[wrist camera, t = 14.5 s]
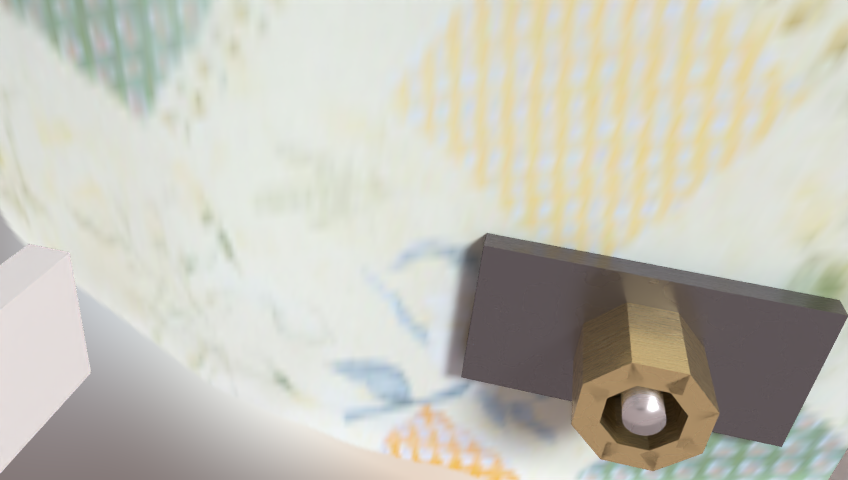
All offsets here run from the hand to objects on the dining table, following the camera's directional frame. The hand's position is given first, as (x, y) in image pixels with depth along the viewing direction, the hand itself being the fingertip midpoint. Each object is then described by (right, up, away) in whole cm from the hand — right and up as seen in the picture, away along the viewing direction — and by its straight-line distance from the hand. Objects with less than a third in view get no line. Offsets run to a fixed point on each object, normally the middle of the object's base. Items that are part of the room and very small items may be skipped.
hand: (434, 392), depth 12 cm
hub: (+13, -4, +30) cm, 33 cm away
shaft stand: (+13, -3, +31) cm, 34 cm away
